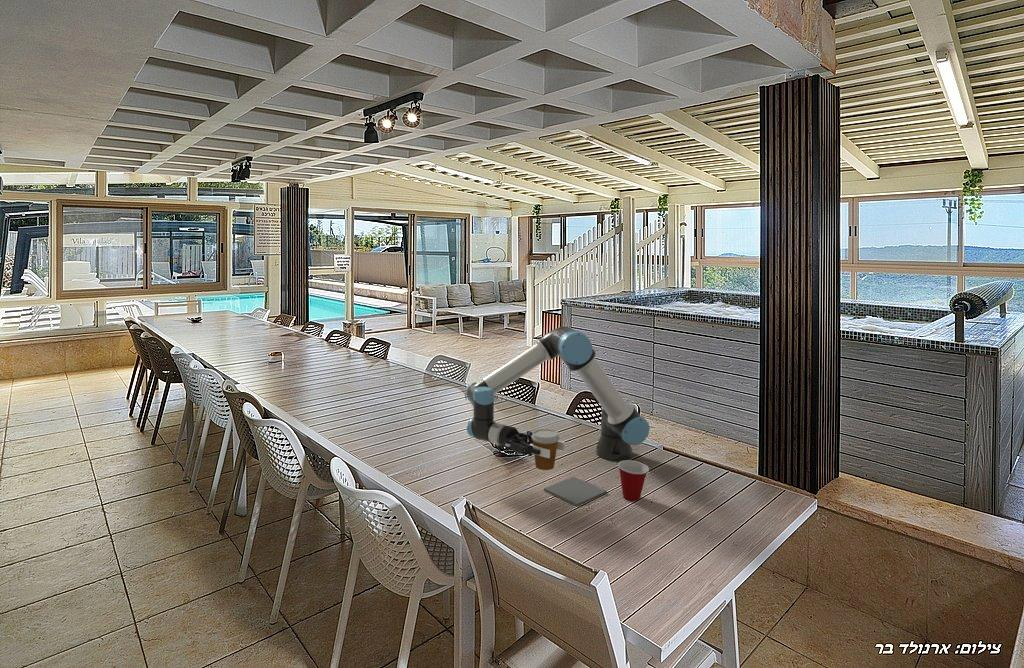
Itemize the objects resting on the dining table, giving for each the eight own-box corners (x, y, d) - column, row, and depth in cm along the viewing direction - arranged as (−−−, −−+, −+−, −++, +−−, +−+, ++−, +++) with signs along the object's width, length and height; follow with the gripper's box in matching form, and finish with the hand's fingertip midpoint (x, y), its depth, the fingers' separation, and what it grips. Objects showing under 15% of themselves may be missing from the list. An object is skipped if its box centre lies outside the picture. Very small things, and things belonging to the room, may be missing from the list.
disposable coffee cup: (527, 462, 198) (527, 429, 196) (552, 459, 201) (553, 427, 199) (536, 473, 189) (537, 439, 187) (563, 470, 192) (563, 436, 190)
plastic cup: (648, 506, 195) (650, 473, 193) (616, 503, 197) (617, 470, 195) (647, 492, 205) (649, 460, 203) (616, 489, 207) (618, 458, 205)
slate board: (573, 479, 216) (573, 476, 216) (606, 493, 204) (607, 490, 204) (543, 491, 205) (543, 488, 205) (577, 506, 194) (577, 504, 193)
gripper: (521, 437, 213) (573, 451, 200) (485, 454, 197) (538, 470, 183) (521, 418, 212) (573, 431, 198) (484, 433, 196) (538, 448, 182)
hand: (556, 450), depth 191 cm, fingers closed on disposable coffee cup, 8 cm apart
